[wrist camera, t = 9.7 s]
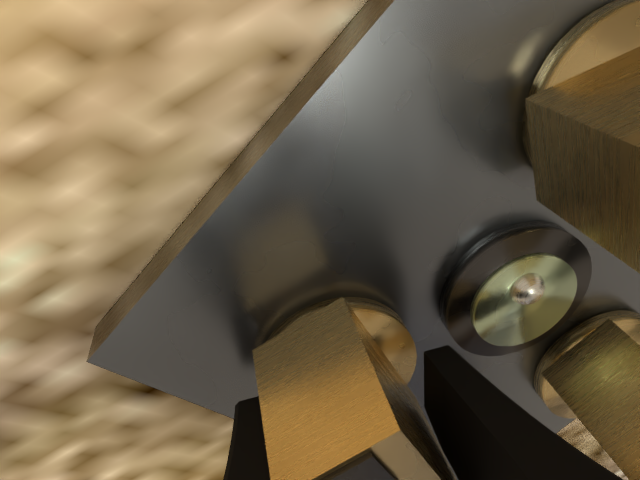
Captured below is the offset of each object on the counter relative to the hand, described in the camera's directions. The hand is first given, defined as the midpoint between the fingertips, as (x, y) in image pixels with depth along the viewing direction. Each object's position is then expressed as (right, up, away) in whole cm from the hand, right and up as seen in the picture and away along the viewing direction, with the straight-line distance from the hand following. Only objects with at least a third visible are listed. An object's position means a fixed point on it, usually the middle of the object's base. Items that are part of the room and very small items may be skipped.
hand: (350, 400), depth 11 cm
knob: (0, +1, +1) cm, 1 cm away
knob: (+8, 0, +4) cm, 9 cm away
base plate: (+4, +3, +2) cm, 6 cm away
